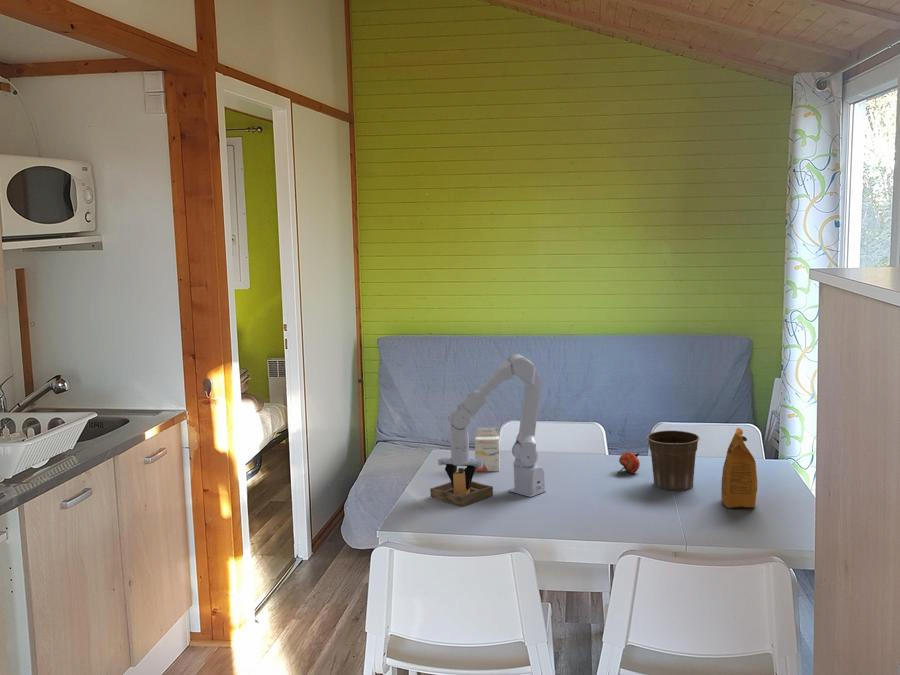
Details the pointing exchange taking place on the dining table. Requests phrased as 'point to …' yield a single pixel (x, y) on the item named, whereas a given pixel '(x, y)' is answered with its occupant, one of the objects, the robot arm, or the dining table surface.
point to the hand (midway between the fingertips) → (461, 488)
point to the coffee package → (739, 474)
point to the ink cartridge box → (487, 449)
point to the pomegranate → (629, 462)
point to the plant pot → (673, 459)
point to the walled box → (476, 494)
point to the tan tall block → (460, 482)
